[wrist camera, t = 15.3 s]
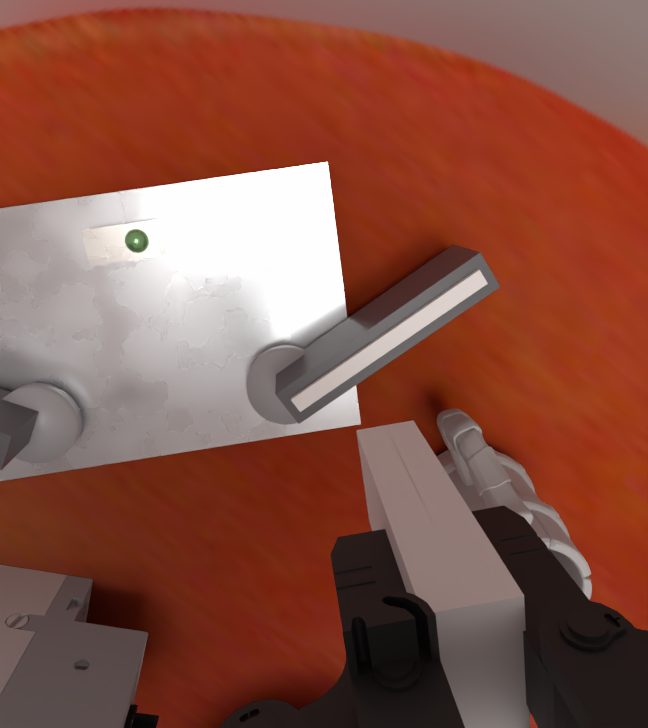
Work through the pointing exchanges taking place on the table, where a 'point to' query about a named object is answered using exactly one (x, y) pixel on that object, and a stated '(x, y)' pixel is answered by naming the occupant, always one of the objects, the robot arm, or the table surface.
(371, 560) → the robot arm
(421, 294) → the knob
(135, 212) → the base plate
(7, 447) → the grey bar piece
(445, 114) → the table surface
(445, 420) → the mug
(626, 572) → the table surface
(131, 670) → the circuit breaker
